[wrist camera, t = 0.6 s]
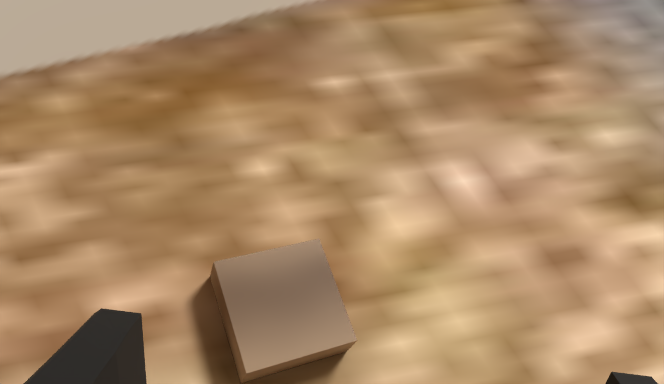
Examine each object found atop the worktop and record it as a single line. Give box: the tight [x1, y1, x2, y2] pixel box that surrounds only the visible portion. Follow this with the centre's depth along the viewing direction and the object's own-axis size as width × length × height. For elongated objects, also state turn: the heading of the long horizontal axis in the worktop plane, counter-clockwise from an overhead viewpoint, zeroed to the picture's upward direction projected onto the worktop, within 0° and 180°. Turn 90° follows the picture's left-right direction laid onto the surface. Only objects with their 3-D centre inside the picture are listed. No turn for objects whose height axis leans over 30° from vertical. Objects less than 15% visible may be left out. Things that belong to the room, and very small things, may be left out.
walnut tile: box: [210, 239, 357, 383], centre depth 28 cm, size 5×5×2 cm
